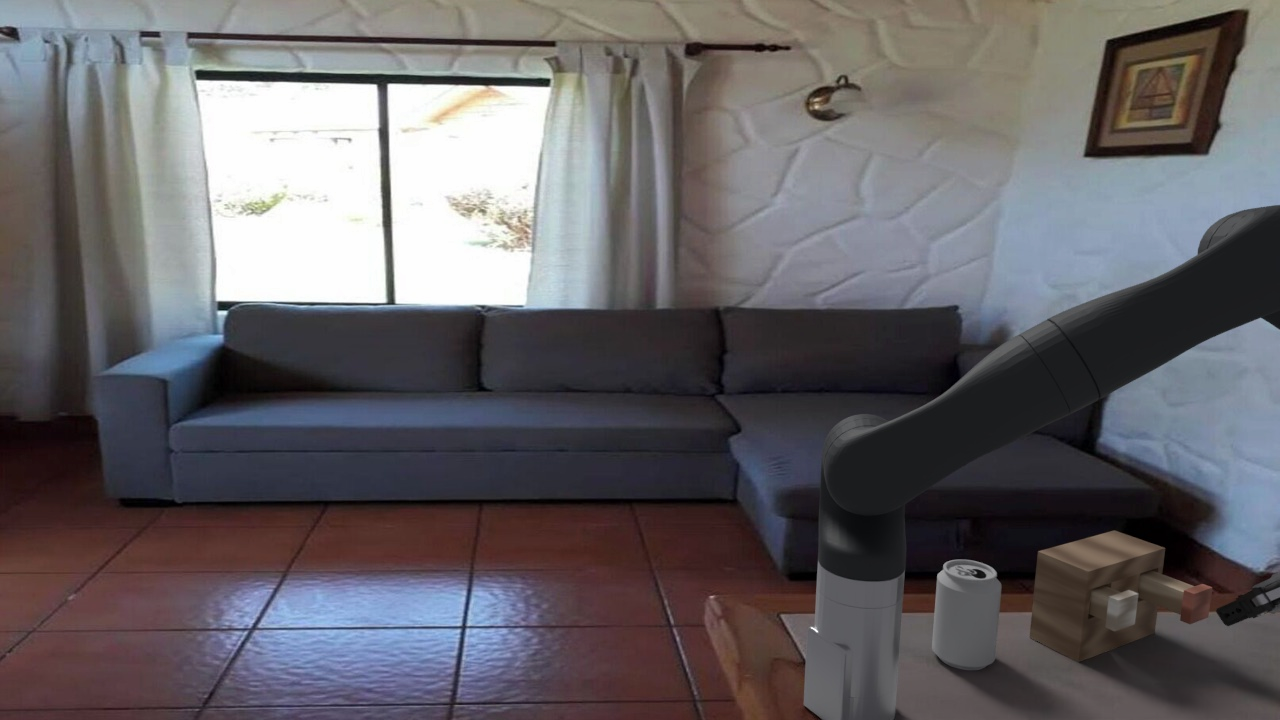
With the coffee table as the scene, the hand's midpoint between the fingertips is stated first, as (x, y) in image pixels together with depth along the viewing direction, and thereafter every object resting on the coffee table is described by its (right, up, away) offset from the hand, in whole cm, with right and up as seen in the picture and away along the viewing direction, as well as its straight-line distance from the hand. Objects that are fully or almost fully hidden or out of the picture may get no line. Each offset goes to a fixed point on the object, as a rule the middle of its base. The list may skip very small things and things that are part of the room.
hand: (1223, 617), depth 104 cm
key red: (-3, -1, +7) cm, 8 cm away
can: (-30, -7, +4) cm, 31 cm away
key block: (-11, -5, +10) cm, 16 cm away
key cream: (-14, -1, +5) cm, 15 cm away
